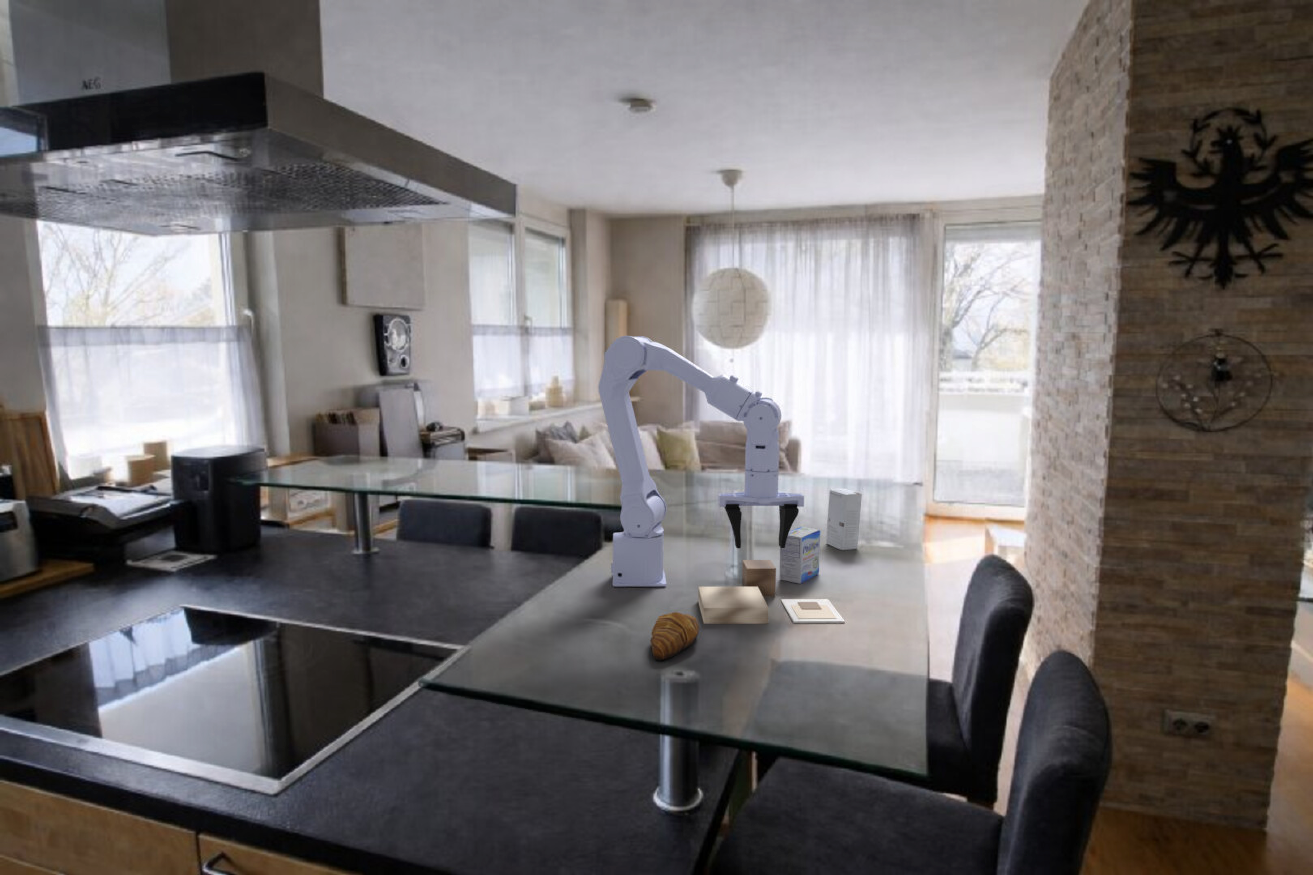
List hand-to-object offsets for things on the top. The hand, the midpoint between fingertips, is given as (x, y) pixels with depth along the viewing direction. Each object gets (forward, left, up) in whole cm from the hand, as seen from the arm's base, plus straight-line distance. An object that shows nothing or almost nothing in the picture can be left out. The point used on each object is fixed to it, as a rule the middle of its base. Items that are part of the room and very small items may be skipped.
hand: (759, 546), depth 131 cm
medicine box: (+9, +8, -8) cm, 15 cm away
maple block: (-6, -10, -9) cm, 14 cm away
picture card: (+7, -10, -8) cm, 15 cm away
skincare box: (+23, +29, -8) cm, 38 cm away
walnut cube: (0, 0, -8) cm, 8 cm away
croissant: (-16, -23, -8) cm, 29 cm away
